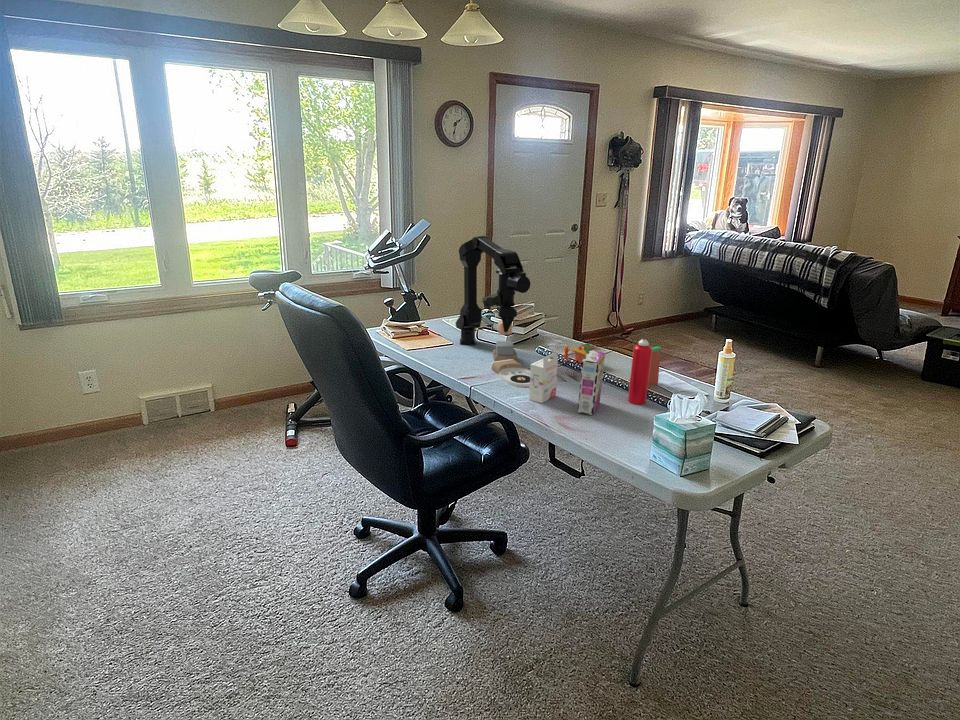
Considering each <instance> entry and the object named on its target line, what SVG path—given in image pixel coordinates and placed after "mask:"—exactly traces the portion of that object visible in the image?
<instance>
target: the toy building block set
mask: <svg viewBox="0 0 960 720" xmlns="http://www.w3.org/2000/svg"><path fill="white" fill-rule="evenodd" d="M569 347H570V346H569V345H568V344H565V345H564V358H563V359H567V360H568V358H569V351H570V348H569ZM595 347H596V345H594V344H592V343H583V344H581V345H579V346H578V347H576V348H572V349H571V351H572V352H574V354H575V356H574V361H575V360H576V361H578V362H577V363H579V362H580V363H582V360H583V359H584V358H585V356H586V355H587V354H588V352H589V351H593V349H594V348H595ZM651 348H652V357H651V365H650V374H649V382H648V386H649V387H651V386H654V385H659V378H660V377H659V375H660V362H661V361H660V360H661V349H662V348H661V346H658V345H656V346H653V347H652V346H651ZM630 377H631V375H630ZM630 377H629V378H630ZM628 383H629V384H628V386H629V385H630V381H629V382H628Z"/></svg>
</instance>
